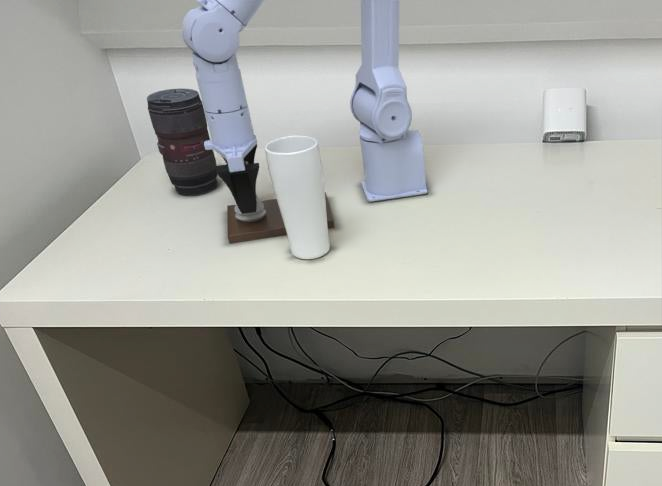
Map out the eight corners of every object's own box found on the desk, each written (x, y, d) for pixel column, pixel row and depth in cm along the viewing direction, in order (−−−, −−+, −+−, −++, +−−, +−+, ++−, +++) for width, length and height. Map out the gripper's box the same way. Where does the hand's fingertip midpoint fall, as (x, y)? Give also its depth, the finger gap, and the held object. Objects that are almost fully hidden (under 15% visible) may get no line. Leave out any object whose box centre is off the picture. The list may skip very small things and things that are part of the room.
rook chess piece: (272, 211, 111) (261, 159, 106) (256, 224, 108) (244, 171, 103) (246, 209, 112) (234, 157, 107) (230, 221, 109) (216, 168, 104)
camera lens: (208, 199, 119) (183, 103, 110) (163, 197, 120) (134, 102, 111) (231, 179, 125) (208, 87, 116) (187, 177, 127) (161, 86, 118)
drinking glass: (313, 267, 99) (292, 157, 90) (276, 256, 102) (252, 148, 93) (346, 246, 103) (329, 139, 94) (309, 237, 106) (289, 132, 97)
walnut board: (326, 198, 117) (325, 191, 116) (334, 227, 108) (333, 220, 108) (229, 212, 114) (227, 205, 114) (229, 243, 106) (227, 235, 105)
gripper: (197, 95, 105) (220, 187, 113) (193, 127, 94) (219, 226, 102) (247, 89, 106) (267, 181, 115) (250, 120, 95) (271, 219, 103)
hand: (248, 202), depth 109 cm, fingers open, 7 cm apart
